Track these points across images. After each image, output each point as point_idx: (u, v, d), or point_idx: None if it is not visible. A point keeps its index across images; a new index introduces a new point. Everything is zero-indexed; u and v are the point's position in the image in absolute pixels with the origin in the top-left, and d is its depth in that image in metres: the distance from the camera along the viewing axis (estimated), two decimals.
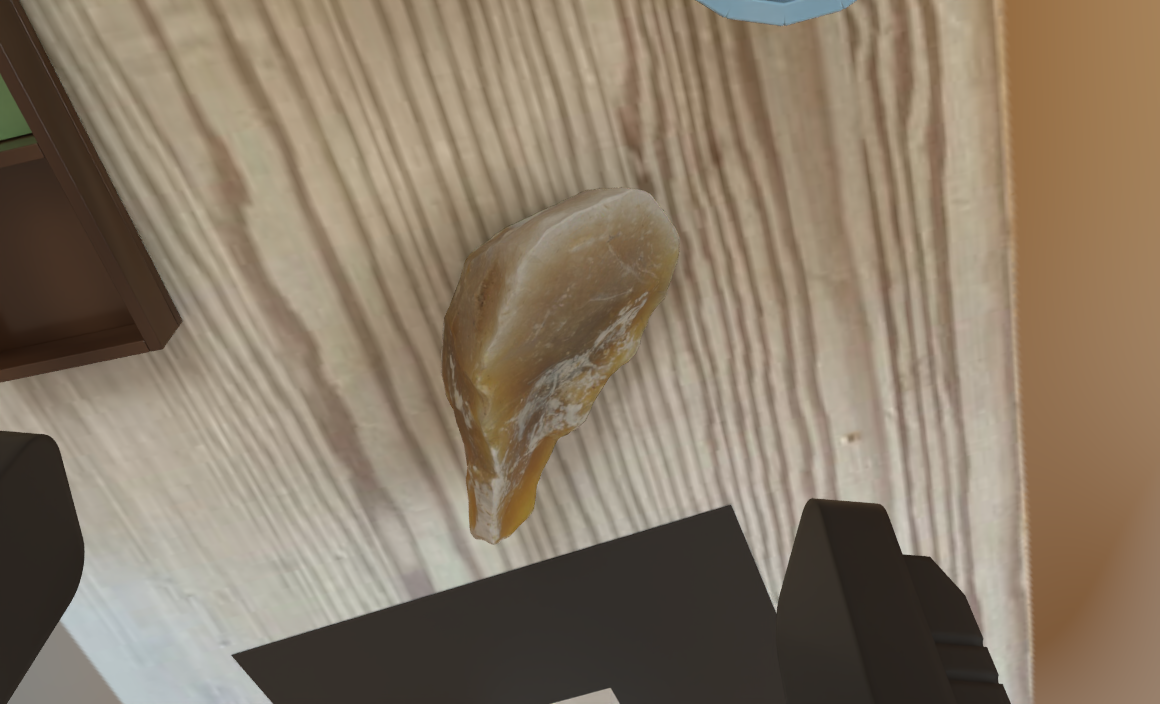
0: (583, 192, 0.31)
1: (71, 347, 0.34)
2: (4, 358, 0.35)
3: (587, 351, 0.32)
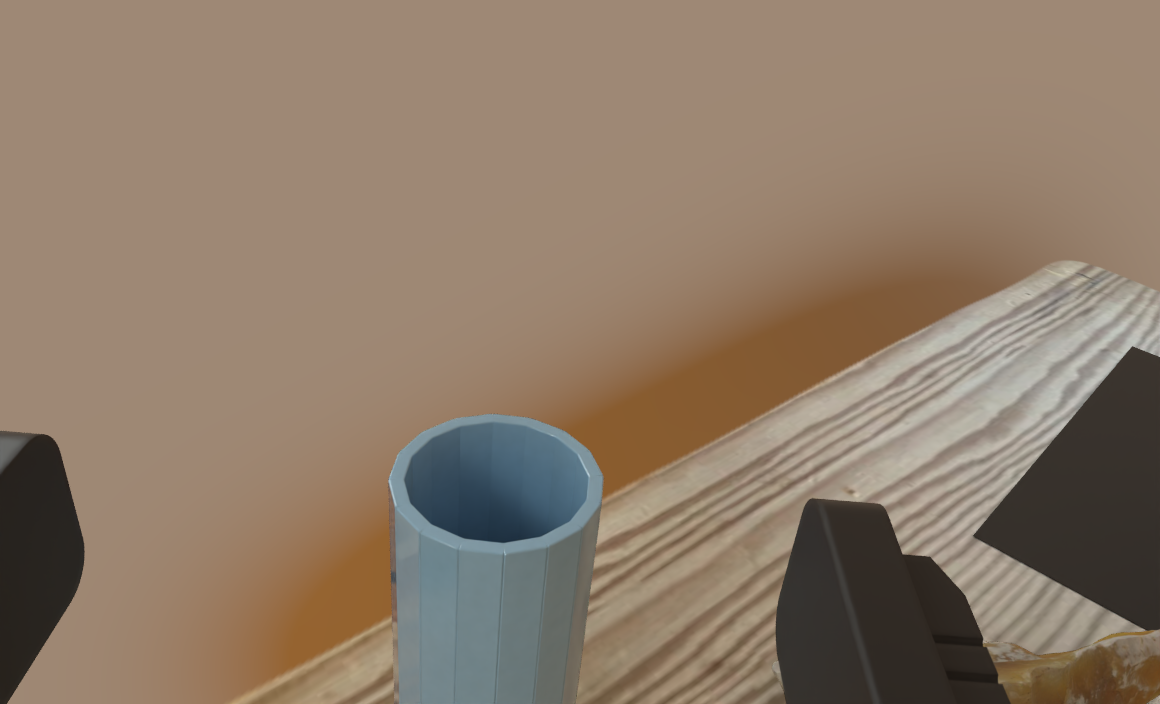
0: None
1: None
2: None
3: None
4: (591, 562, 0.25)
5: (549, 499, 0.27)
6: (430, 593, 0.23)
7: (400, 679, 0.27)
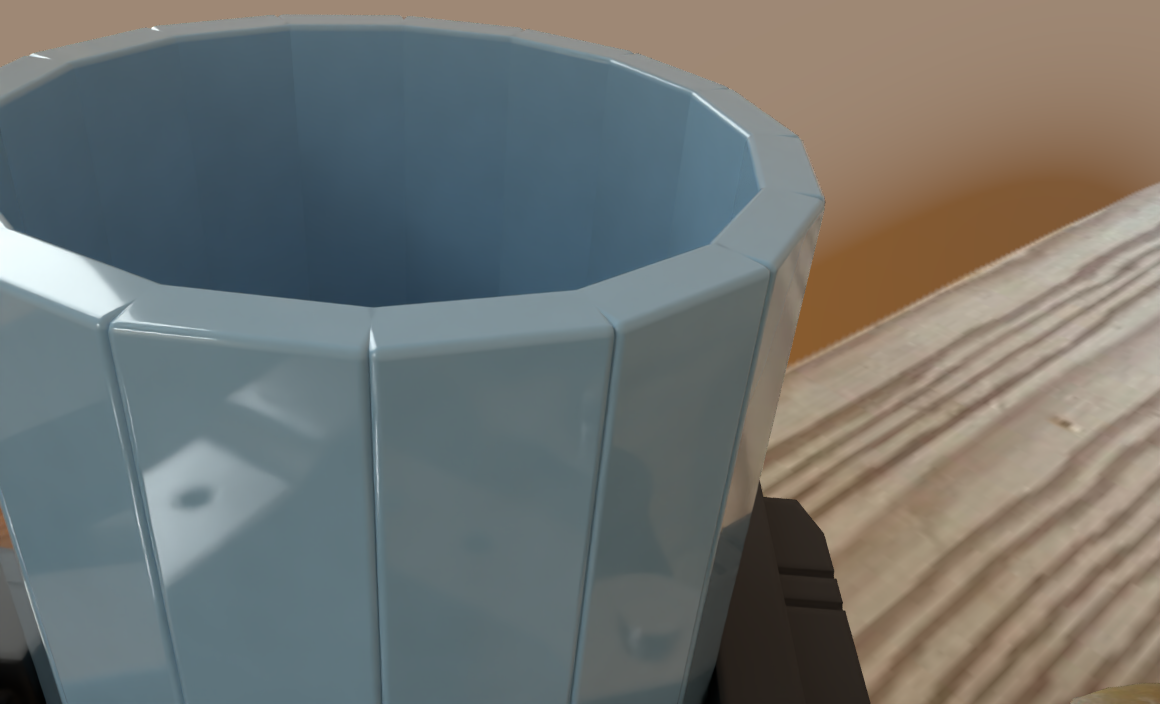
0: None
1: None
2: None
3: None
4: (759, 468, 0.06)
5: None
6: (62, 585, 0.05)
7: None
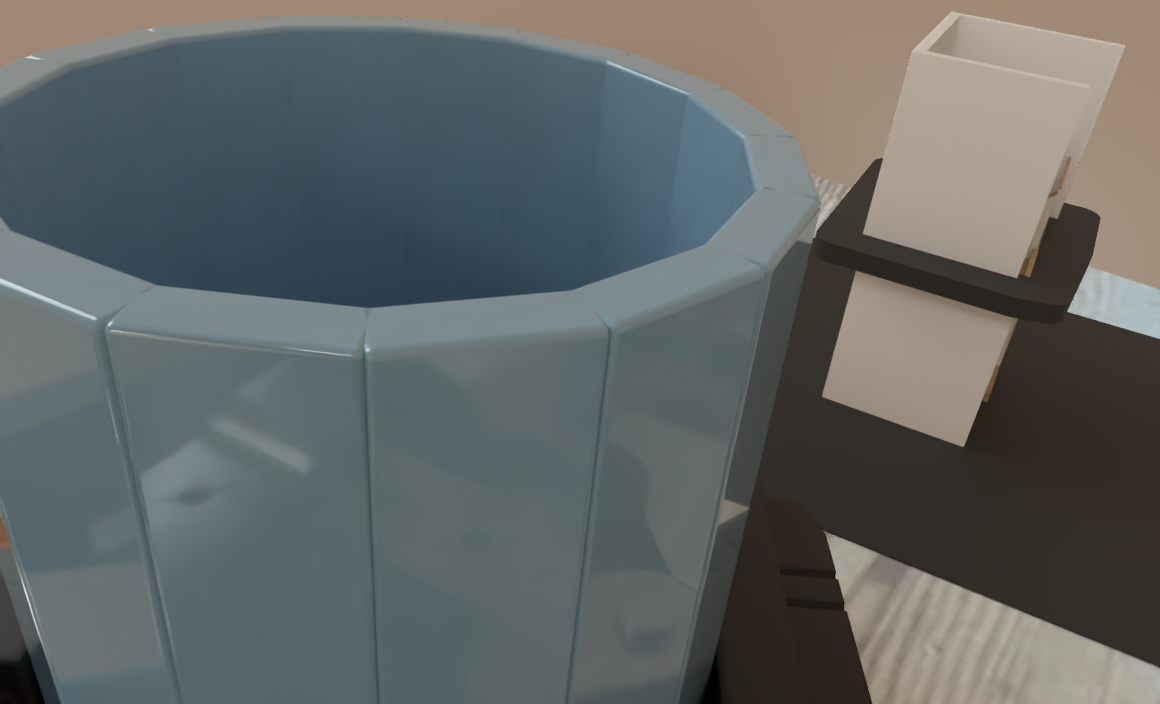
0: None
1: None
2: None
3: None
4: (755, 467, 0.06)
5: None
6: (59, 585, 0.05)
7: None
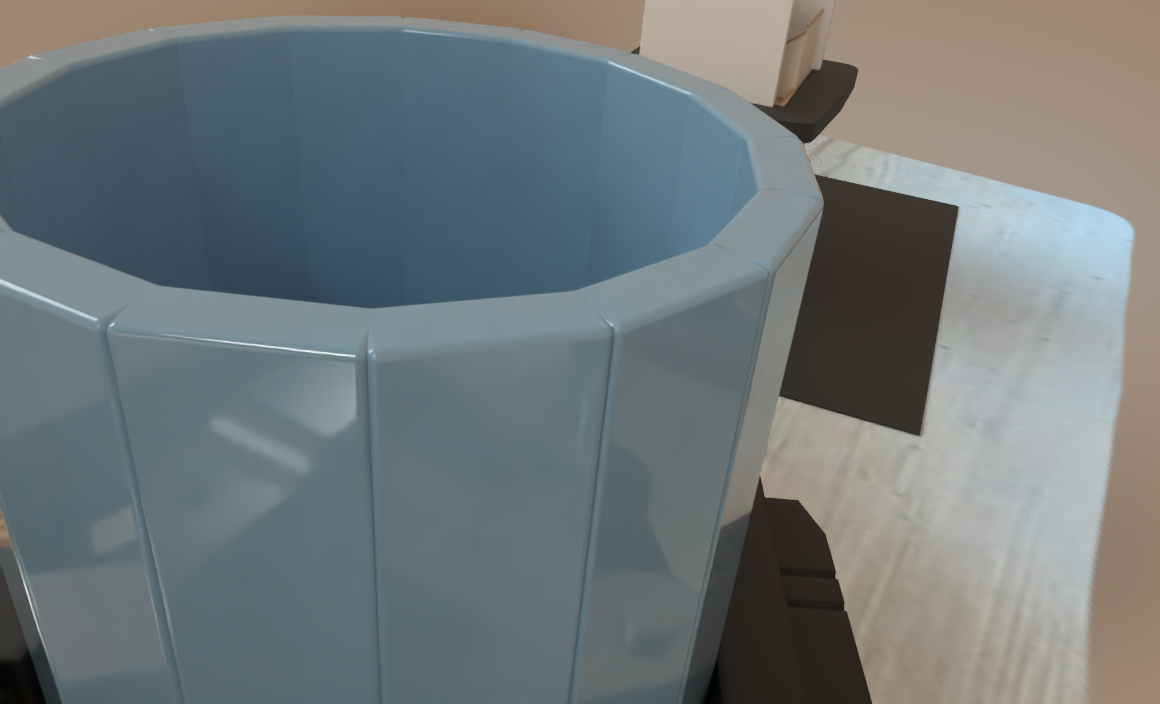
0: None
1: None
2: None
3: None
4: (758, 468, 0.06)
5: None
6: (61, 586, 0.05)
7: None
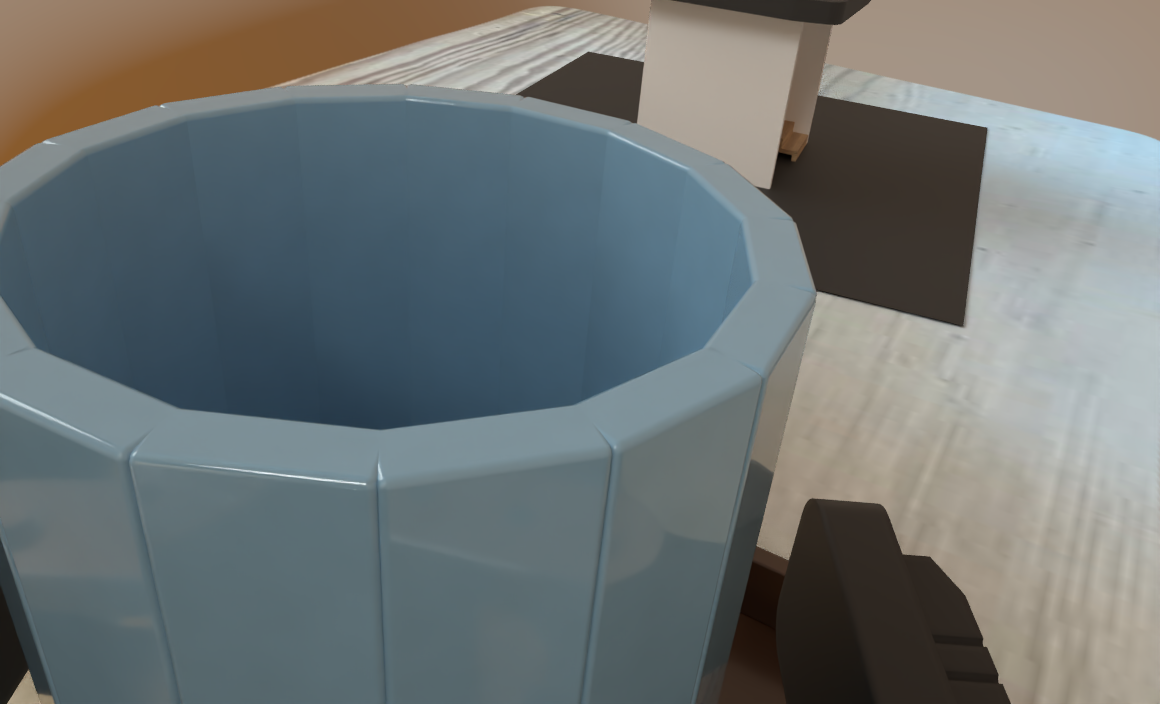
0: None
1: None
2: None
3: None
4: (754, 541, 0.07)
5: (583, 364, 0.09)
6: (81, 676, 0.05)
7: None
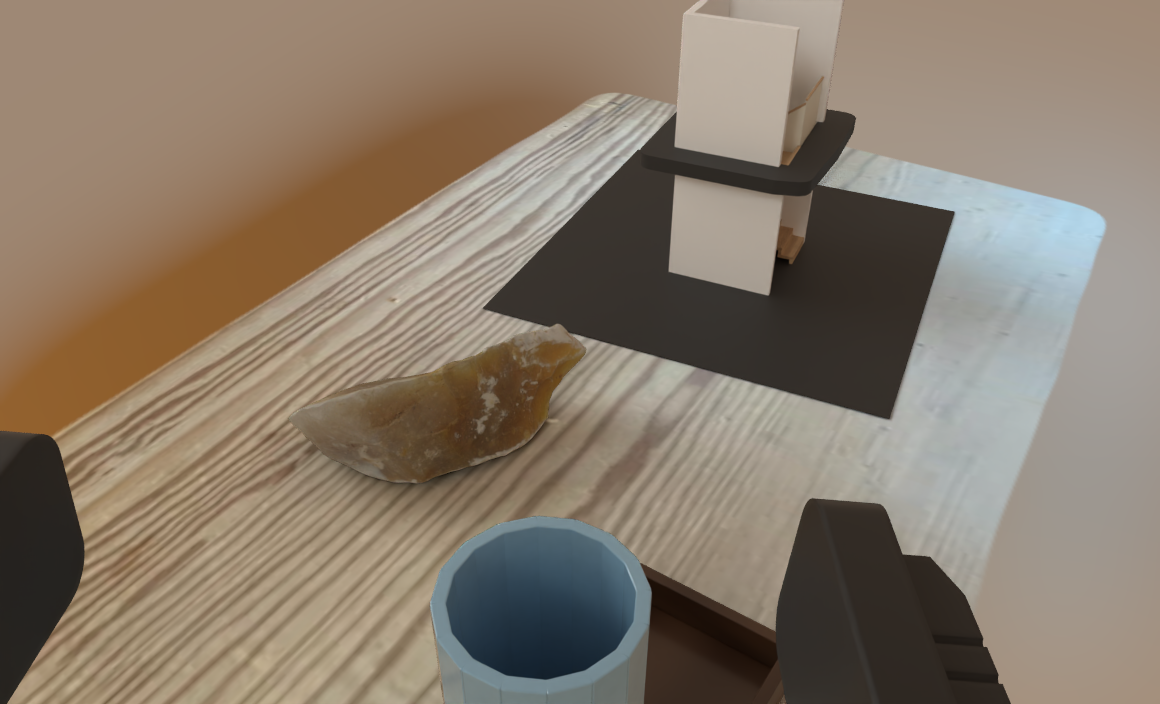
0: (323, 451, 0.46)
1: (696, 613, 0.38)
2: (758, 650, 0.37)
3: None
4: (642, 678, 0.24)
5: (600, 597, 0.27)
6: None
7: None
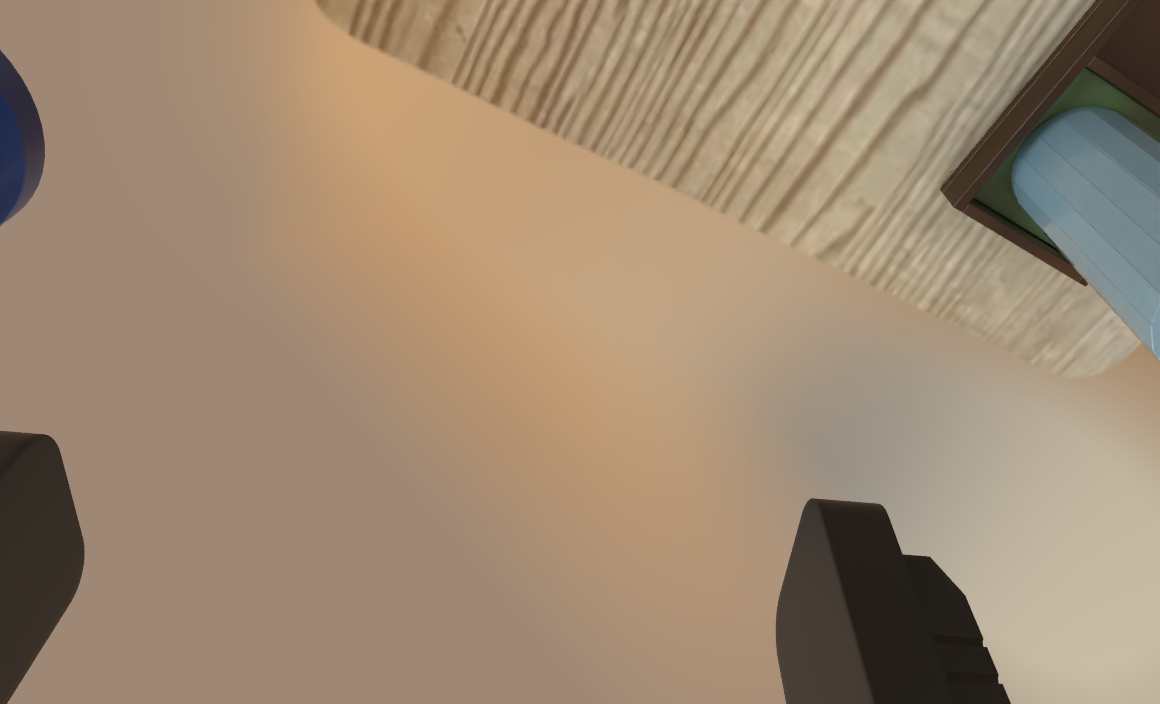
0: None
1: None
2: None
3: None
4: None
5: None
6: None
7: (1075, 265, 0.37)
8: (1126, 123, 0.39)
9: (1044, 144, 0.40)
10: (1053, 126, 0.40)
